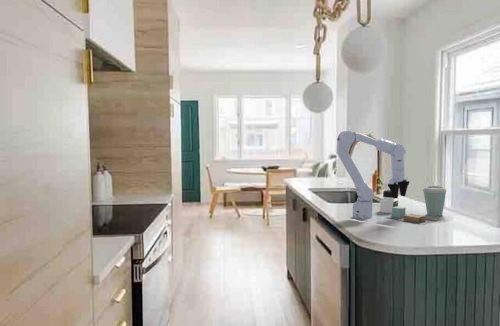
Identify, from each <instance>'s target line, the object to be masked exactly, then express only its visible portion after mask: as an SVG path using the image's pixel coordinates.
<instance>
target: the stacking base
mask: <svg viewBox="0 0 500 326" xmlns="http://www.w3.org/2000/svg"><path fill="white" fill-rule="evenodd" d="M385 219H387V220H392V221H398V222H399V221H400V222H405V223H409V224H416V225H421V226H425V225H429V224H432V223H433V224H434V223H435V222H438V220H437V219H430V218H427V216H426V215H424V214H418V213H417V214H416V213H409V214H405V215H404V217H403V218H397V217H392V215H391V216H390V215H389V216H386V217H385Z"/></svg>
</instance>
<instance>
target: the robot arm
mask: <svg viewBox="0 0 500 326" xmlns="http://www.w3.org/2000/svg"><path fill="white" fill-rule="evenodd" d="M358 142H361V143H363V144H367V145H370V146H374V148H375V149H376V150H377V151H379V152H383V153H385V154H388V155H390V156H391V157H390V158H391V179H389V180H388V182H389V183H387V187H388V188H389V190H391V193H392V196H393V198H395V199H398V198H399V196H400V197H406V196H407V195H406V194H407V189H408V187H409V184H410V181H409V179H408V176H405V160H404V157H405V153H406V149H405V147H404V146H403V145H402V144H397V143H396V142H395V141H393V142H392V141H390V140H387V138H384V137H383V138H379V139H376V138H373V137H370V136H368V135H365V134H363V133H360V132H357V131H356V132H355V131H352V130H342V131H341V132H340V133H339V134H338V136H337V138H336V154H337V155H338V158H339V159H340V161H341V163H342V165H343V167H344V169H345V170H346V172H347V173H348V176H349V177H350V179H351V181H352V183H353V184H354V187H355V190H356V195H357V198H356V201H354V203H353V205H352V219H354V220H355V219H357V220H359V221H360V220H362V221H366V220H365V219H370V218H373V198H374V196H375V193H374V190H373V189H372V188H371V187H369V185H368V183H366V181H365V180H364V178H363V177H362V174H361V172H360V171H359V169H358V168H357V166H356V164H355V163H354V161H353V159H352V157H351V155H350V153H349V151H350V148H351V146H352V145H353V143H358ZM399 194H400V195H399Z"/></svg>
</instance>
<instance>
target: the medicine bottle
mask: <svg viewBox="0 0 500 326" xmlns="http://www.w3.org/2000/svg"><path fill="white" fill-rule="evenodd" d="M392 207H399V200H398V198H393V196H392V193H391V190H390V189H388V190H386V189H385V190H384V191H383V192H382V199H380V200H379V212H380V213H387V214H392Z"/></svg>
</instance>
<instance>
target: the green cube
mask: <svg viewBox="0 0 500 326" xmlns="http://www.w3.org/2000/svg"><path fill="white" fill-rule="evenodd" d="M406 209H407V208H406V207H403V206H398V207H392V213H391V216H392V217H397V218H403V217H404V215H406Z"/></svg>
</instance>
